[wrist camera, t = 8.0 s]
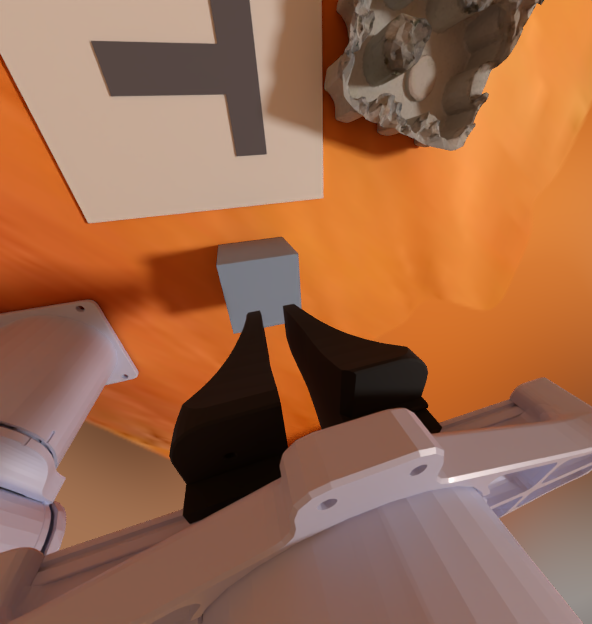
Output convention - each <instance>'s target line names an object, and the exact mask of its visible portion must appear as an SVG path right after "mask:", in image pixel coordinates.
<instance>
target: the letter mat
mask: <svg viewBox="0 0 592 624" xmlns="http://www.w3.org/2000/svg"><path fill="white" fill-rule="evenodd" d="M0 54H1V56H2V58H3V60H4V62H5V63H6V65H7V67H8V69H9V71H10V73H11V75H12V77H13V79H14V81H15V83H16V85H17V87H18V89H19V91H20V92H21V94H22V96H23V98H24V100H25V102H26V104H27V106H28V108H29V110H30V112H31V114H32V116H33V118H34V120H35V121H36V123H37V125H38V127H39V129H40V131H41V133H42V135H43V137H44V139H45V141H46V143H47V145H48V147H49V148H50V150H51V152H52V154H53V156H54V158H55V160H56V162H57V164H58V166H59V168H60V170H61V172H62V174H63V176H64V177H65V179H66V181H67V183H68V185H69V187H70V189H71V191H72V193H73V195H74V197H75V199H76V201H77V203H78V204H79V206H80V208H81V210H82V212H83V214H84V216H85V218H86V220H87V222H88V223H97V222H106V221H115V220H124V219H134V218H143V217H152V216H162V215H171V214H180V213H189V212H199V211H208V210H217V209H227V208H236V207H245V206H254V205H264V204H273V203H282V202H292V201H301V200H310V199H319V198H323V94H322V0H0Z"/></svg>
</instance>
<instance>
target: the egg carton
mask: <svg viewBox="0 0 592 624" xmlns="http://www.w3.org/2000/svg"><path fill="white" fill-rule="evenodd" d="M543 1H544V0H338V4H337V13H339V14H340V15H341V16H342V18H343V20H344V21H345V23H346V26H347V30H348V37H349V44H348V46H347V47H346V48H345V51H344V54H343V55H341V56H340V57H339V58H338V59H337V60H336V61H335V62H334V63H333V64H332V65H331V66H330V67H328V69H327V72H326V78H325V83H324V89H325V90H326V91H327V92H328V93H329V94H330V96H331V97H332V99H333V101H334V104H335V119H336V120H338V121H341V122H345V123H349V122H351V121H354V120H356V119H358V118H360V117H362V116H364V117H365V119H367V120H368V121H371V122H373V123H377V125H378V127H377V132H378V133H379V134H381V135H385V136H390V135H394V134H398V133H401V134H403V135H406V136H408V137H411V138H413V139H414V143H415V145H417V146H421V147H429V146H431V147H436V148H441V149H445V150H450V151H452V150H456V149H458V148H460V147H462V146H463V145H464V143H465V141H466V138H467V137H468V135H469V134H470V132H471V131H472V129H473V128H474V127H475V123H474V124H473V122H474V119H475V116H476V114H477V112H478V110H479V109H480V107H481V105H482V104H483V103H484V102H486V100H487V98H488V95H489V94H488V93H484V94H482V91H483V89H484V87H485V84H486V82H487V79H488V76H489V74H490V72H491V70H492V69H493V68H495V67H497V66H498V65H500V64H501V63H502V62H503V61H504V60H505V59H506V58H507V57H508V56H509V55H510V53H511V52H512V50H513V48H514V47H515V45H516V44H517V41H518V39H519V37H520V35H521V33H522V30H523V26H524V25H525V24H526V22H527V20H528V19H529V17H530V15H531V13H532V11H533V9H534V8H535V6H536V4H537V3H538V4H540V5H541V4H542V3H543Z"/></svg>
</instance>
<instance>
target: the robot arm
mask: <svg viewBox="0 0 592 624" xmlns="http://www.w3.org/2000/svg"><path fill="white" fill-rule="evenodd" d="M79 306H82V307H83V308H84V309H85V310H84V309H80V308H79ZM283 313H284V321H285V330H286V337H287V340H288V344H289V347H290V350H291V353H292V355H293V357H294V359H295V361H296V363H297V366H298V368H299V370H300V372H301V374H302V376H303V378H304V381H305V383H306V385H307V387H308V390H309V393H310V396H311V398H312V401H313V404H314V407H315V410H316V413H317V416H318V419H319V422H320V425H321V429H322V430H319V431H315V432H312V433H310V434H308V435H306V436H304V437H302V438H300V439H298V440H296V441H295V442H294V443H293V444H292V445H291V446H290V447H288V445H287V439H286V433H285V427H284V420H283V414H282V408H281V403H280V399H279V395H278V391H277V387H276V384H275V381H274V377H273V374H272V371H271V367H270V361H269V354H268V348H267V343H266V337H265V331H264V326H263V320H262V315H261V312H260V310H259V311H254V312H249V313H248V314H247V315H246V321H245V324H244V327H243V330H242V332H241V335H240V337H239V339H238V341H237V343H236V345H235V347H234V349H233V351H232V352H231V354H230V356H229V357H228V359H227V360H226V361H225V363H224V364H223V365H222V367H221V368H220V369H219V371H218V372H217V373H216V374H215V375H214V376H213V377H212V378H211V380H210V381H209V382H208V383H207V384H206V385H205V386H203V387H202V388H201V389H200V390H199V391H198V392H197V393H196V394H194V395H193V396H192V397H191V398H190V399H189V400H187V401H186V402H185V403H184V404H183V405H182V407H181V410H180V413H179V416H178V418H177V421H176V424H175V428H174V432H173V437H172V442H171V448H170V455H169V457H170V459H171V462H172V464H173V465H174V467H175V468H176V470H177V471H178V472H179V474H180V475H181V477H182V478H183V480H184V481H185V483H186V484H187V485H186V492H185V500H184V508H183V509H181V510H179V511H175V512H172V513H170V514H167V515H164V516H161V517H158V518H155V519H152V520H149V521H146V522H143V523H140V524H137V525H134V526H131V527H128V528H125V529H122V530H119V531H116V532H113V533H110V534H107V535H104V536H101V537H98V538H95V539H92V540H89V541H86V542H83V543H80V544H77V545H74V546H71V547H69V548H66V549H63V550H59V548H60V546H61V542H62V539H63V536H64V532H65V526H66V512H65V509H64V507H63V506H62V505H61V504H60V503H58V502H56V501H54V500H55V497H56V495H57V494H58V492H59V490H60V488H61V486H62V484H63V483H64V481H65V479H66V478H65V477H64V476H62V475H60V474H59V473H58V472H57V471H56V468H57V467H58V465H59V463H60V462H61V460H62V458H63V457H64V455H65V453H66V451H67V450H68V448H69V446H70V445H71V443H72V441H73V439H74V438H75V436H76V434H77V432H78V430H79V429H80V427H81V425H82V424H83V422H84V420H85V419H86V417H87V415H88V413H89V412H90V410H91V408H92V407H93V405H94V403H95V401H96V400H97V398H98V396H99V395H100V393H101V391H102V389H103V388H104V386H105V385H108V384H113V383H117V382H121V381H126V380H130V379H134V378H136V377H137V376H138V370H137V368H136V367H135V365H134V363H133V362H132V360H131V359H130V357H129V355H128V354H127V352H126V350H125V349H124V347H123V345H122V344H121V342H120V340H119V339H118V337H117V335H116V334H115V332H114V330H113V329H112V327H111V325H110V324H109V322H108V320H107V319H106V317H105V315H104V314H103V312H102V310H101V309H100V307H99V305H98V304H97V303H96V302H95V301H93V300H81V301H74V302H68V303H62V304H56V305H50V306H44V307H37V308H31V309H25V310H19V311H13V312H7V313H0V624H583V622H582V621H581V620H580V619H579V617H578V616H577V615H576V614H575V613H574V612H573V610H572V609H571V608H570V606H569V605H568V604H567V603H566V601H565V600H564V599H563V598H562V596H561V595H560V594H559V593H558V592H557V590H556V589H555V588H554V586H553V585H552V584H551V583H550V581H549V580H548V579H547V578H546V576H545V575H544V574H543V573H542V572H541V570H540V569H539V568H538V567H537V565H536V564H535V563H534V562H533V560H532V559H531V558H530V557H529V555H528V554H527V553H526V552H525V551H524V549H523V548H522V547H521V545H520V544H519V543H518V542H517V540H516V539H515V538H514V537H513V536H512V534H511V533H510V532H509V531H508V529H507V528H506V527H505V525H504V524H503V523H502V522H501V520H500V519H499V518H501V517H502V516H504V515H506V514H508V513H510V512H512V511H514V510H516V509H518V508H519V507H521V506H523V505H525V504H527V503H529V502H531V501H533V500H535V499H536V498H538V497H540V496H542V495H544V494H546V493H548V492H550V491H552V490H554V489H556V488H558V487H560V486H562V485H564V484H566V483H568V482H570V481H573V480H575V479H576V478H579V477H581V476H583V475H585V474H587V473H589V472H590V471H591V470H592V407H591V406H590V405H588V404H586V403H585V402H583V401H582V400H580V399H578V398H577V397H575V396H574V395H572V394H570V393H569V392H567V391H566V390H564V389H562V388H561V387H559V386H558V385H556V384H554V383H553V382H551V381H549V380H548V379H546V378H538V379H535V380H532V381H529V382H526V383H523V384H521V385H519V386H518V387H517V388H515V390H514V391H513V392H512V394H511V396H510V399H509V400H506V401H503V402H500V403H497V404H494V405H491V406H488V407H485V408H482V409H479V410H476V411H473V412H470V413H467V414H464V415H461V416H458V417H455V418H452V419H449V420H446V421H444V422H441V423H438V422H437V421H436V419H435V418H434V417H433V416H432V415H431V414H430V413H429V411H428V410H427V409H426V408H428V404H427V402H426V401H425V400H424V399H423V398H422V397H421V396H422V392H423V389H424V386H425V383H426V380H427V375H428V371H427V366H426V365H425V363H424V362H423V361H422V360H421V359H419V357H417V356H416V355H415V354H414V353H413V352H412V351H411V350H410V349H409V348H407V347H404V346H398V345H391V344H384V343H379V342H375V341H370V340H366V339H363V338H359V337H356V336H353V335H350V334H347V333H344V332H342V331H340V330H337V329H335V328H333V327H331V326H329V325H327V324H325V323H323V322H321V321H319V320H318V319H316V318H314V317H313V316H311V315H309V314H308V313H306V312H305V311H304V310H302V309H301V308H299V307H298V306H296V305H295V304H290V305H285V306H283ZM123 374H125V375H127V376H125V375H123Z"/></svg>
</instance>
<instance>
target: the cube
mask: <svg viewBox="0 0 592 624" xmlns="http://www.w3.org/2000/svg"><path fill="white" fill-rule="evenodd" d="M216 266H217V270H218V274H219V278H220V282H221V286H222V290H223V294H224V298H225V301H226V305H227V309H228V313H229V317H230V321H231V325H232V329H233V333H234V334H235V333H240V332H242V330H243V327H244V324H245V321H246V315H247V314H248V313H249V312H254V311H259V310H260V312H261V315H262V320H263V326H264V327H269V326H274V325H279V324H284V323H285V321H284V313H283V306H285V305H290V304H295V305H296V306H298V307H299V308H301V293H300V277H299V260H298V253H297V252H296V251H295V250H294V249H293V248H292V247H291V246H290V245H289V244H288V243H287V242H286V240H285V239H284V238H283V237H276V238H269V239H261V240H253V241H245V242H238V243H230V244H222V245H218V254H217V263H216Z"/></svg>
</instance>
